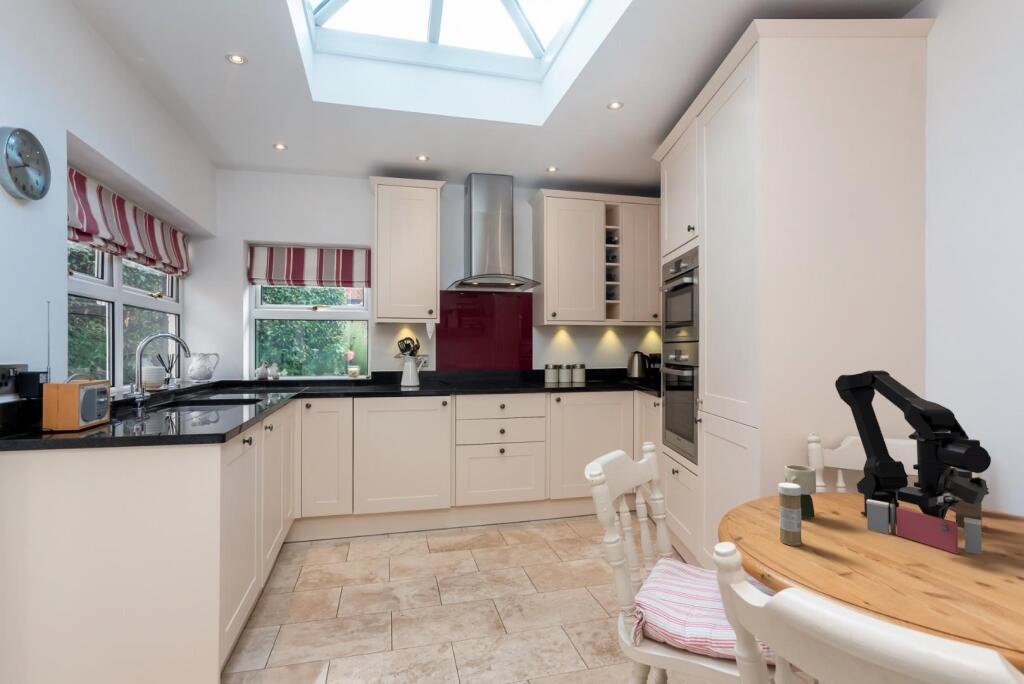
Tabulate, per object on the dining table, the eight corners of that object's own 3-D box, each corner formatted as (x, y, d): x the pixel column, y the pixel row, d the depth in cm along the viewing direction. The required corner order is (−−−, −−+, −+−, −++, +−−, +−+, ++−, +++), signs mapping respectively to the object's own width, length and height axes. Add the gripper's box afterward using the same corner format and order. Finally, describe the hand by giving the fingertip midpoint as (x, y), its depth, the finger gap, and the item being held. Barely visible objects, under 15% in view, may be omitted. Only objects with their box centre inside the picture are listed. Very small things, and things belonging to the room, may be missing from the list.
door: (894, 535, 110) (893, 508, 110) (899, 534, 111) (898, 507, 111) (953, 554, 100) (952, 523, 100) (958, 552, 101) (957, 522, 101)
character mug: (794, 508, 130) (793, 462, 131) (823, 515, 125) (822, 467, 125) (778, 517, 123) (777, 468, 124) (808, 525, 118) (807, 474, 118)
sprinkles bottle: (789, 537, 110) (787, 481, 111) (807, 545, 106) (805, 486, 106) (774, 540, 109) (773, 483, 109) (792, 548, 104) (791, 488, 105)
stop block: (981, 531, 113) (980, 502, 113) (956, 526, 116) (955, 498, 116) (982, 526, 116) (981, 498, 116) (957, 521, 119) (956, 494, 119)
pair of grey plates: (866, 529, 115) (866, 500, 115) (868, 527, 116) (867, 498, 116) (982, 555, 100) (981, 522, 100) (982, 552, 101) (981, 519, 101)
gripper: (954, 474, 96) (957, 550, 95) (1002, 465, 102) (1005, 536, 102) (893, 463, 106) (896, 531, 105) (940, 455, 113) (943, 519, 112)
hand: (936, 530), depth 106 cm, fingers closed
